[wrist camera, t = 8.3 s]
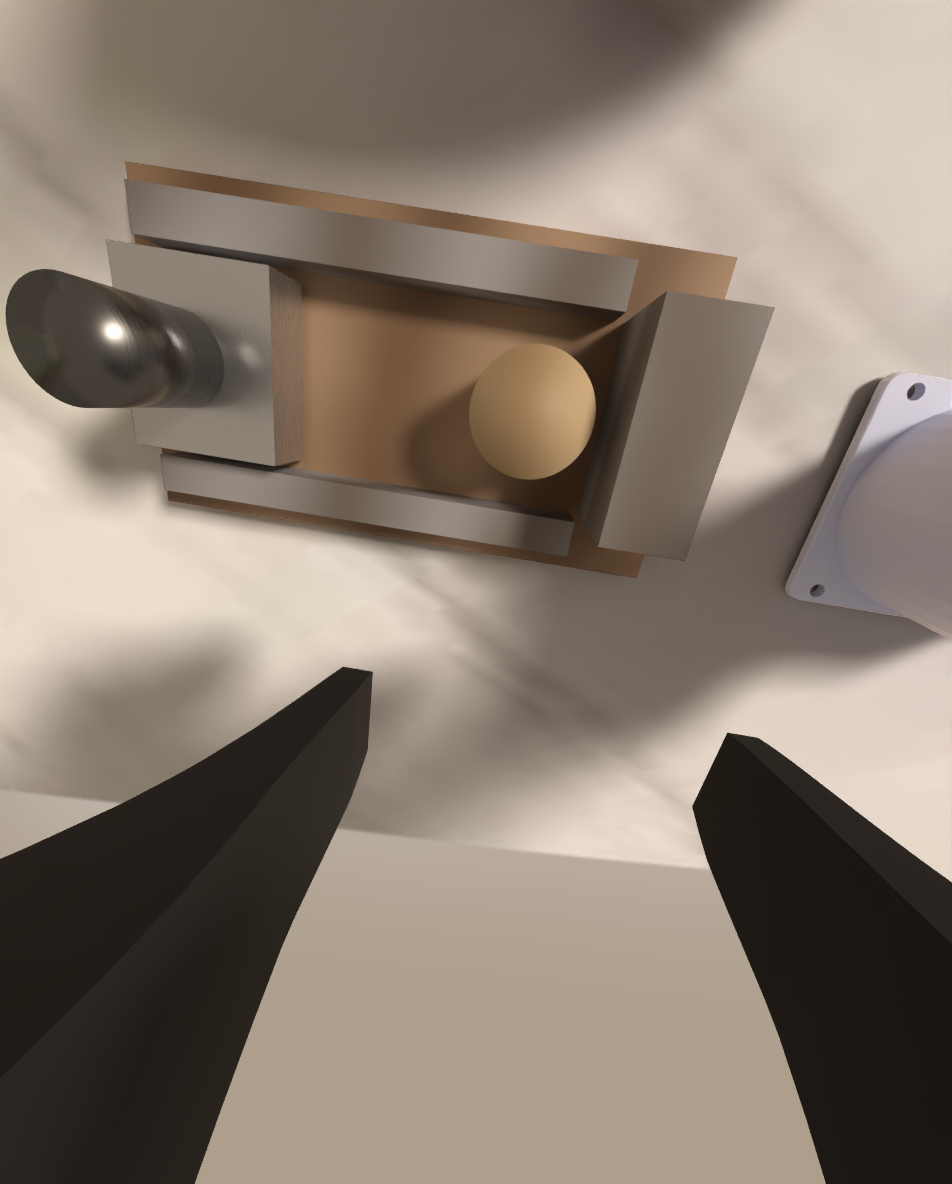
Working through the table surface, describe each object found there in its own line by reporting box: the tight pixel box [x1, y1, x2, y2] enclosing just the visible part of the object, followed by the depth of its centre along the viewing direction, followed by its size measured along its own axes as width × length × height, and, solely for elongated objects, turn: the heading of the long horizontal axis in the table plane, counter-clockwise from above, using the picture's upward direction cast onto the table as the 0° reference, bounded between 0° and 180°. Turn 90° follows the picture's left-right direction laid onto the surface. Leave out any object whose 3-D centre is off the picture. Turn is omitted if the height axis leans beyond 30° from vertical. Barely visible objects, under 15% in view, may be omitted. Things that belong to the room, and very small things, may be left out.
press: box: [125, 162, 775, 578], centre depth 13 cm, size 18×10×5 cm, turn 81°
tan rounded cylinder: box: [469, 344, 596, 480], centre depth 13 cm, size 3×3×3 cm
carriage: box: [6, 239, 303, 466], centre depth 12 cm, size 4×5×6 cm
